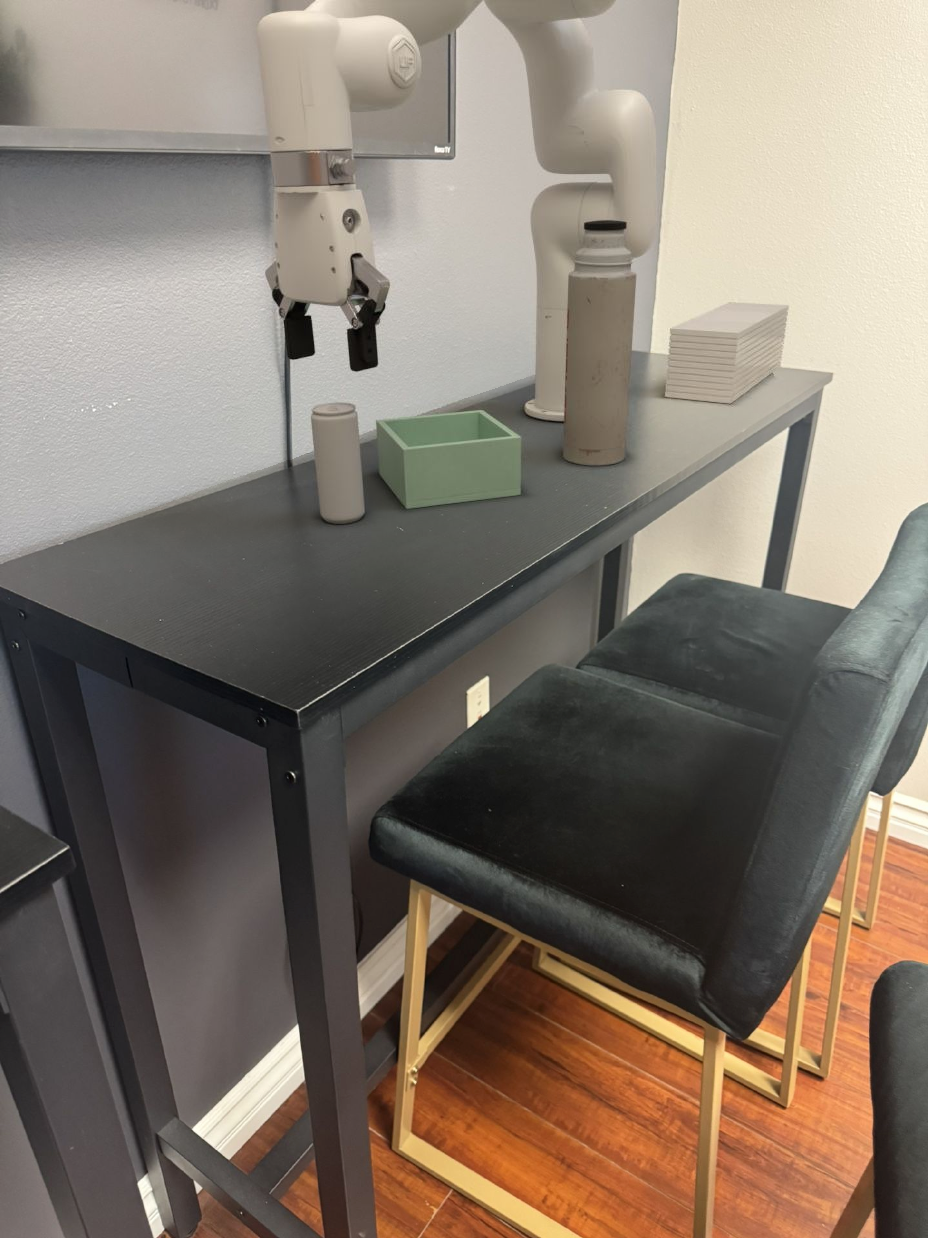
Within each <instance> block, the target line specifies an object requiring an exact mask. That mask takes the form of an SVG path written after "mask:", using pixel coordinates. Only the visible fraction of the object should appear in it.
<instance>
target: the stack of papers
mask: <svg viewBox="0 0 928 1238" xmlns="http://www.w3.org/2000/svg"><path fill="white" fill-rule="evenodd" d="M789 308H790V305H789V304H773V303H772V304H770V303H752V302H751V303H750V302H731V301H730V302H727V303H724V304H722V305H720V306H717V307H715V308H713V309H711V310H709V311H706V312H705V313H702V314H699V315H697V316H695V317H693V318H690V319H689V320H685V321H684V322H682V323H679V324H677V325H675V326H672V327H670V329H669V334H670V335H669V343H668V354H667V363H666V364H667V366H666V379H665V392H664V397H665V398H671V399H672V398H673V399H680V400H681V399H682V400H689V401H690V400H691V401H701V402H710V403H711V402H712V403H720V404H721V403H722V404H732V403H733V402H735V401H736V400H738V399H739V398H741V396H743V395H744V394H746V393H747V392H748V391H750V390H752V389H753V388H754V387H755V386H757V385H758V384H760V383H761V382H762V381H763V380H765V379H766V378H767V377H769V376H770V375H772V374H773V373H774V372H775V371H777V370H778V369H779V368H781V366H782V359H783V352H784V344H785V337H786V330H787V322H788V315H789V312H788V311H789Z"/></svg>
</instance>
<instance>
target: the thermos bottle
mask: <svg viewBox="0 0 928 1238" xmlns="http://www.w3.org/2000/svg"><path fill="white" fill-rule="evenodd" d="M626 227H627V222H623V221H615V220H599V221H591V222H585V223H584V229H585V234H584V235H583V247H582V248H581V249H580V250H579V251H577V252H576V253H575V260H574V263H575V268H574V271H572V272H570V273H569V275H568V306H567V339H566V372H565V405H564V421H563V437H562V438H563V440H562V441H563V444H562V458H563V459H564V460H565V461H567V462H568V463H569V462H570V463H573V464H576V465H581V466H595V467H596V466H598V467H599V466H600V467H601V466H610V465H615V464H618V463H621V462H623V461H624V460H625V458H626V449H627V434H628V433H627V432H628V418H629V416H628V415H629V391H630V381H631V379H630V378H631V369H632V368H631V367H632V354H633V353H632V352H633V337H634V336H633V335H634V323H635V322H634V320H635V319H634V318H635V304H636V303H635V302H636V287H637V272H636V271H634V270H632V264H633V259H634V258H632V253H631V252H630V251H629V250H628V249H626V248H625V234H624V229H626Z"/></svg>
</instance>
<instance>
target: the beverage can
mask: <svg viewBox="0 0 928 1238" xmlns="http://www.w3.org/2000/svg"><path fill="white" fill-rule="evenodd" d="M310 409H311V411H310V412H312V413H311V414H310V424H311V431H312V432H311V433H312V443H313V445H312V446H313V453H314V465H315V473H316V482H317V493H318V502H319V504H318V505H319V512H320V513H319V514H320V516H321V517H322V519H323V520H324V521H325V522H327V523H329V524H333V525H334V524H335V525H345V524H352V523H355V522H358V521H359V520H361V519H362V518H363V517H364V514H365V513H366V510H365V496H364V483H363V481H364V480H363V470H362V469H363V468H362V455H361V444H360V443H361V442H360V430H359V417H358V412H357V410H356V409H357V407H356V405H355V404H353V403H349V402H338V401H336V402H325V403H320V404H316V405H314V406H312V407H311V408H310Z"/></svg>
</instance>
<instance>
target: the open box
mask: <svg viewBox="0 0 928 1238" xmlns="http://www.w3.org/2000/svg"><path fill="white" fill-rule="evenodd" d="M375 426H376V427H375V428H376V441H377V442H376V443H377V444H376V445H377V458H378V474H379V476H380V477H381V478H382V480H383V481H384V482H385V484H386V485H387V486H388V487H389V489H390V490H391V492H392V493H393V494H394V496H395V497H396V498H397V499H398V500H399V501H400V504H402V506H403V507H404V508H405V509H406V510H410V509H418V508H425V507H426V508H427V507H436V506H442V505H451V504H456V503H457V504H458V503H466V502H474V501H483V500H490V499H499V498H508V497H514V496H515V497H516V496H521V494H522V492H521V491H522V437H521V436H520V435H519V434H517V433H516V432H515V431H513V430H512V429H510V428H509V427H508V426H506V425H505V424H503V423H501V422H500V421H499V420H497V419H496V418H494V417H493V415H490V414H489V413H487V412H486V411H485V410H483V409H477V410H467V411H456V412H446V413H436V414H435V413H434V414H425V415H416V416H405V417H394V418H385V419H376V420H375Z"/></svg>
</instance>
